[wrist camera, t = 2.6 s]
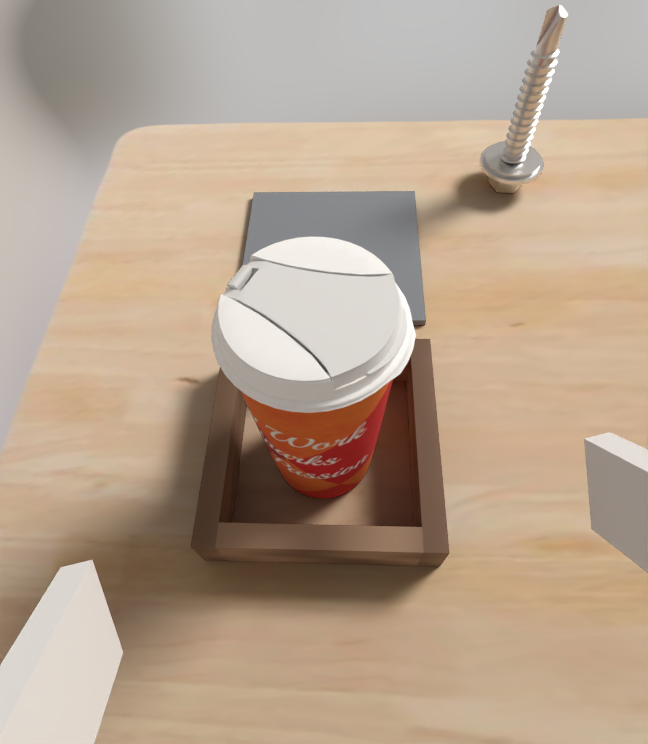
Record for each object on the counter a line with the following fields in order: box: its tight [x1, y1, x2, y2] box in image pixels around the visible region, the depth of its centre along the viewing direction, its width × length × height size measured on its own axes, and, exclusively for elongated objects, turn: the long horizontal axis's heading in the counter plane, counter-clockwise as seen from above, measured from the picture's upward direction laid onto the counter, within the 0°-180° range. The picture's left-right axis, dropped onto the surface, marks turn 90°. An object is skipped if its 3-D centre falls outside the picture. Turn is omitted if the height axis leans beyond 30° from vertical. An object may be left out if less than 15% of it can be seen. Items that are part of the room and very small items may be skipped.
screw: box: [480, 5, 569, 193], centre depth 37 cm, size 13×5×5 cm
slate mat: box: [243, 191, 426, 325], centre depth 39 cm, size 13×13×1 cm
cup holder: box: [191, 339, 449, 566], centre depth 29 cm, size 12×12×3 cm
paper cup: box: [212, 237, 416, 499], centre depth 25 cm, size 8×8×14 cm
